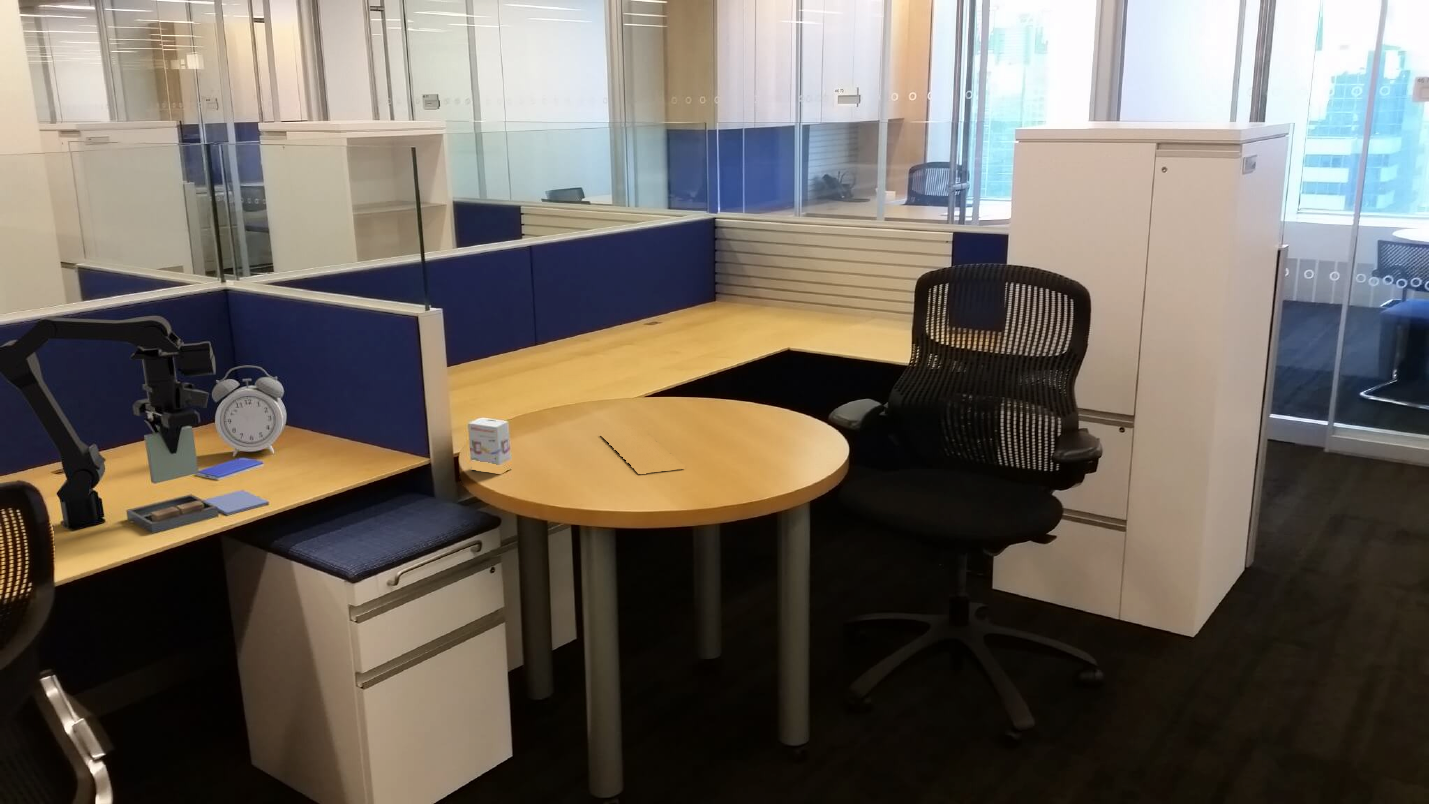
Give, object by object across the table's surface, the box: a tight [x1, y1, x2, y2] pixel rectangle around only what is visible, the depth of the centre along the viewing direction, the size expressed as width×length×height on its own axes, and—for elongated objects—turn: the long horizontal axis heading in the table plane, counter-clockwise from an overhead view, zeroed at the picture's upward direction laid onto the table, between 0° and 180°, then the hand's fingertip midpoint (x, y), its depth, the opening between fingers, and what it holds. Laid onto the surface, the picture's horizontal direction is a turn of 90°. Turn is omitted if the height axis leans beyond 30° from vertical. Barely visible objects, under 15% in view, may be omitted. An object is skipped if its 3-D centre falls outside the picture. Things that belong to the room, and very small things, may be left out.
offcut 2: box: [176, 501, 204, 515], centre depth 227 cm, size 4×3×3 cm
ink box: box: [467, 417, 512, 465], centre depth 255 cm, size 9×5×12 cm, turn 65°
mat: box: [203, 489, 270, 516], centre depth 235 cm, size 9×12×1 cm
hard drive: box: [195, 457, 265, 481], centre depth 258 cm, size 2×8×12 cm
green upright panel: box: [143, 425, 200, 484], centre depth 227 cm, size 9×2×10 cm, turn 138°
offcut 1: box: [151, 507, 180, 522], centre depth 223 cm, size 4×3×3 cm
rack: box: [125, 493, 220, 534], centre depth 227 cm, size 13×13×2 cm
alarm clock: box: [211, 365, 287, 457], centre depth 270 cm, size 16×9×22 cm, turn 104°
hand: (171, 452), depth 227 cm, fingers closed on green upright panel, 2 cm apart
